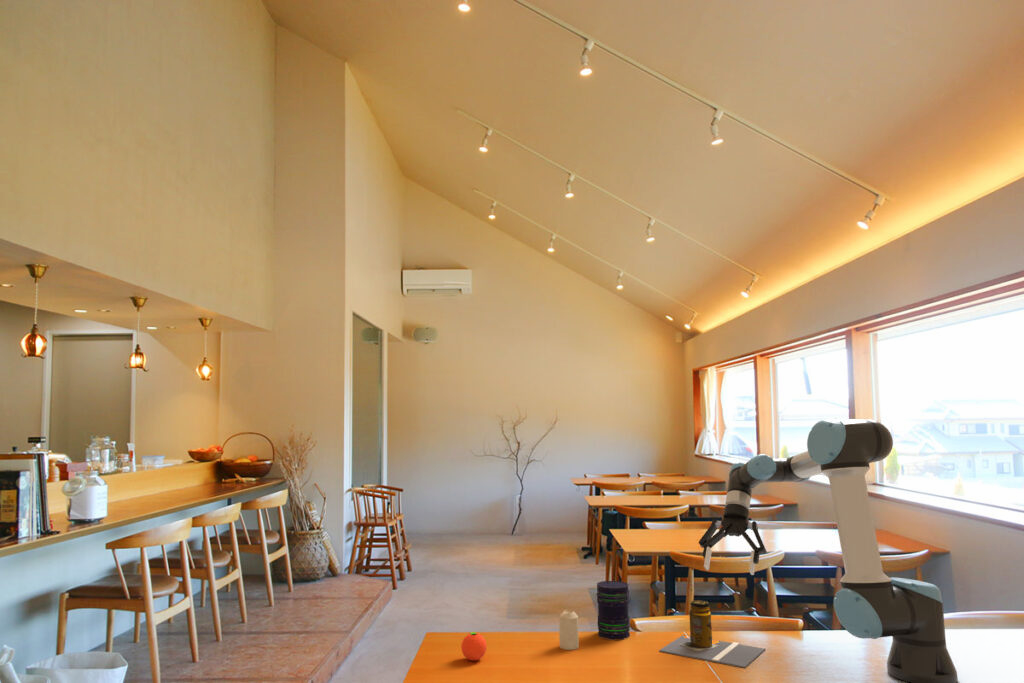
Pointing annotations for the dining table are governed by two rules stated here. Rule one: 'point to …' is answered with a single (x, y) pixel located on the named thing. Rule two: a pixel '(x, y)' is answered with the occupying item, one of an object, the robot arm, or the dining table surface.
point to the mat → (717, 652)
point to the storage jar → (613, 610)
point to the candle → (568, 630)
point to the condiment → (700, 626)
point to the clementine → (473, 646)
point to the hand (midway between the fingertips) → (728, 570)
